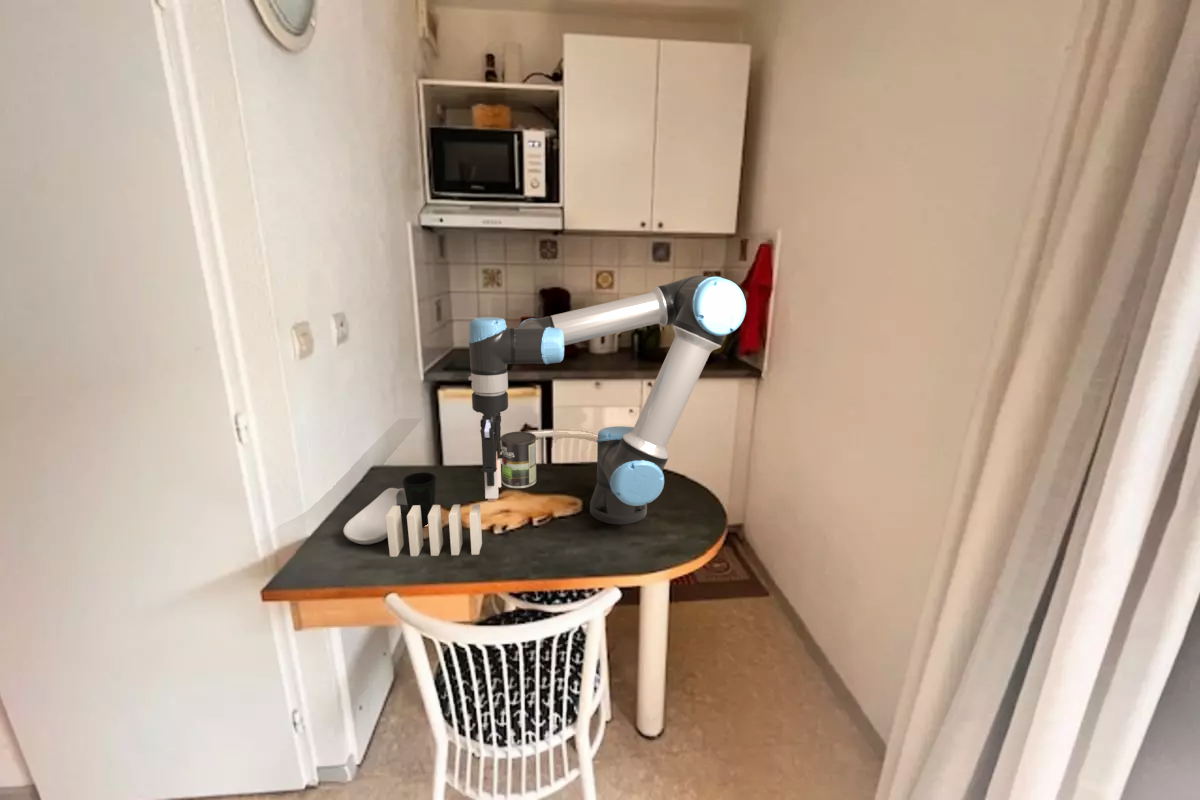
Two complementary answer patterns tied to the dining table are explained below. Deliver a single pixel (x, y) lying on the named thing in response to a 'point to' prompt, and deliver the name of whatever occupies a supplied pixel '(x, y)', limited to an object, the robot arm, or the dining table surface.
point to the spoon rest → (374, 518)
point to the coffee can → (518, 459)
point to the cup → (420, 492)
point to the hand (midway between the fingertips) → (493, 491)
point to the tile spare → (497, 469)
